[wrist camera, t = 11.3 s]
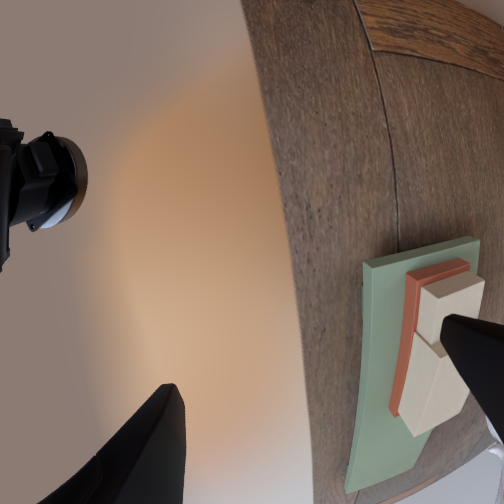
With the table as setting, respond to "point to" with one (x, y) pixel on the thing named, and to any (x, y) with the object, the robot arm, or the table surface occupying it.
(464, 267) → the stepped block on base
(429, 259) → the flat pale green board
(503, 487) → the pitcher
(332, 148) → the table surface
